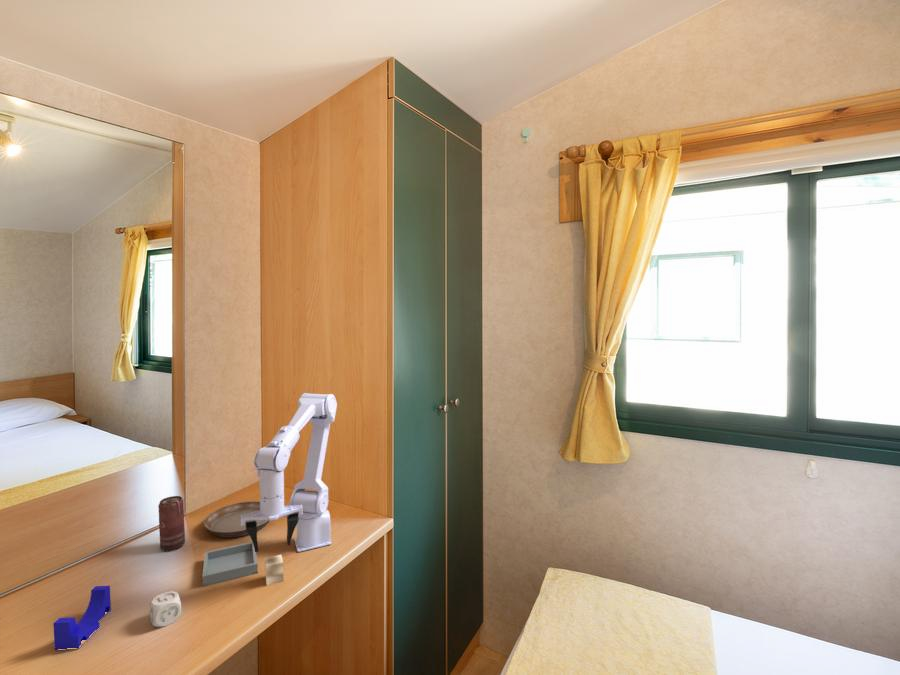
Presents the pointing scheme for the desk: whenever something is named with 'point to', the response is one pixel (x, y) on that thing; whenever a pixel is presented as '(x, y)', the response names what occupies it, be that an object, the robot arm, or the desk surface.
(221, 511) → the plant saucer
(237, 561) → the tray
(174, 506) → the can
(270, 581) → the block
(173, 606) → the die
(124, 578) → the desk surface
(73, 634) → the blue curved piece
